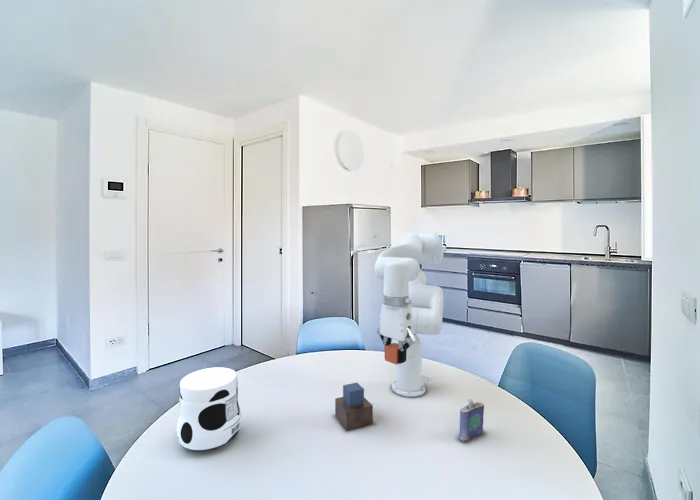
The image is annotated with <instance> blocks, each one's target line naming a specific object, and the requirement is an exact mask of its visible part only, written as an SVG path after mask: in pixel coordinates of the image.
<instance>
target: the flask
mask: <svg viewBox="0 0 700 500" xmlns="http://www.w3.org/2000/svg"><path fill="white" fill-rule="evenodd" d="M484 413H485V404H484V403H482V402H480V401H476V402H474V401H473V400H472V399H471V398H470V399H469V398H468V404H467V405H465V406H463V407H461V408H460V410H459V431H458V432H459V434H458V437H459V441H461V442H462V443H465V442H470V440H474V439H475V438H478V437H479V436H481V435H483V434H484Z"/></svg>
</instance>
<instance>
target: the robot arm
mask: <svg viewBox="0 0 700 500" xmlns="http://www.w3.org/2000/svg"><path fill="white" fill-rule="evenodd" d="M443 260H444V247H443V243H442V239H441V237H440V235H439V234H438V233H436V232H434V231H411V232H409V233H406V234H405V235H404V237H403V239H402V240H401V242H400V244H397V245H394V246H391V247H388V248H385V249H384V250H382V251H381V252H380V253H379V254H378V256H377V258H376V260H375V263H374V269H373V270H374V274H375V277H376V278H377V279H378V280H382V281H383V297H382V298H383V300H382V304H381V308H380V313H379V314H380V315H379V327H378V329H377V330H376V334H377V335H378V336H379V337H380V339H381V341H382V345H383V346H384V347H385V346H387V345H390V344H392V343H393V340H395V341H396V342H395V343H397V344H399V348H400V350H399V351H398V363H399V364H397V365H396V364H395V381H393V382H392V384H391V388H392V391H393V392H394V393H396V394H397V395H399V396H402V397H408V398H410V397H411V398H414V397H415V398H416V397H420V396H422V395H424V394H425V392H426V386H425V384H426V383H430V382H432V380H433V378H432V376H430V375H428V376H425V374H422V372H423V371H422V365H423V363H422V362H423V345H422V344H423V343H422V341H421V339H420V338H419V336H418V335H425V336H427V335H428V336H438V335H439V334H440V333H441V331H442V329H443V320H444V319H443V318H444V304H445V303H444V301H445V297H444V291H443V289H442V287H441V286H439V285H435V284H426V283H427V276H426V274H425V273H424V271H423V270H422V268H421V267H420V265H424V266H425V265H426V266H427V265H429V266H438V265H440V264H442V262H443Z"/></svg>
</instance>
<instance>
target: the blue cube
mask: <svg viewBox="0 0 700 500" xmlns="http://www.w3.org/2000/svg"><path fill="white" fill-rule="evenodd" d="M342 397H343V401H344V402H345V403H346V404H347V405H348V407H349V408H351V407H355V406H359V405H363V404H364V397H365V388H364V387H363V386H361V384H360V383H359V382H352V383H348V384H343V385H342Z"/></svg>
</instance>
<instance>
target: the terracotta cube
mask: <svg viewBox="0 0 700 500" xmlns="http://www.w3.org/2000/svg"><path fill="white" fill-rule="evenodd" d="M399 350H400V348H399V344H397V343H396V342H391V344H390V345H387V346H384V361H386V362H388V363H390V364H393V365H395V366H396V365H397V364H399V363H398V351H399Z"/></svg>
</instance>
